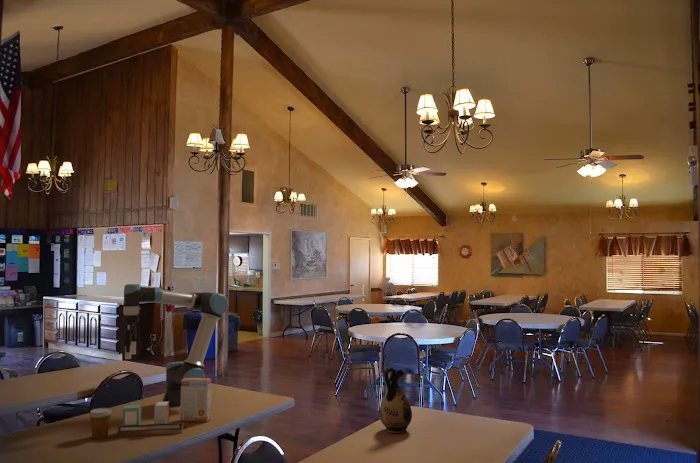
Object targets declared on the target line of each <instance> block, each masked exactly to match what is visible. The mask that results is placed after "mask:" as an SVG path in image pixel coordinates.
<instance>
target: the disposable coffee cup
mask: <svg viewBox="0 0 700 463" xmlns="http://www.w3.org/2000/svg"><path fill="white" fill-rule="evenodd" d="M89 411H90V412H89V414H88V415H89V417H90V427H91V435H92V437H91V438H92V439H94V440H101V439H106V438H107V437H108V435H109V428H110V422H111V417H112V416H111V415H112V414H113V411H112V409H111V408H109V407H99V408H93V409H91V410H89Z"/></svg>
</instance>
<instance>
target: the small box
mask: <svg viewBox="0 0 700 463" xmlns="http://www.w3.org/2000/svg"><path fill="white" fill-rule="evenodd" d="M153 410H154V414H153V416H154V418H153V424H168V423H170V420H169V418H170V417H169V416H170V415H169V414H170V406H169V401H167V402H162V401H156V404H155V405H154V409H153Z"/></svg>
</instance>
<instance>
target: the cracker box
mask: <svg viewBox="0 0 700 463" xmlns="http://www.w3.org/2000/svg"><path fill="white" fill-rule="evenodd" d="M211 418H212V378H211V377H205V378H184V379H182V380H181V406H180V418H179V420H180V422H187V423H188V422H190V423H191V422H197V423H207V422H209V421H210V420H211Z"/></svg>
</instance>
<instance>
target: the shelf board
mask: <svg viewBox="0 0 700 463" xmlns="http://www.w3.org/2000/svg"><path fill="white" fill-rule="evenodd" d="M184 426H185V423H184V422H169V423H168V424H154V423H150V424H149V423H148V424H141V425H132V426H123V425H119V426H118V432H117V436H118V437H132V436H133V435H136V436H149V435H153V436H154V435H167V434H182V433H183V430H184Z"/></svg>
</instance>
